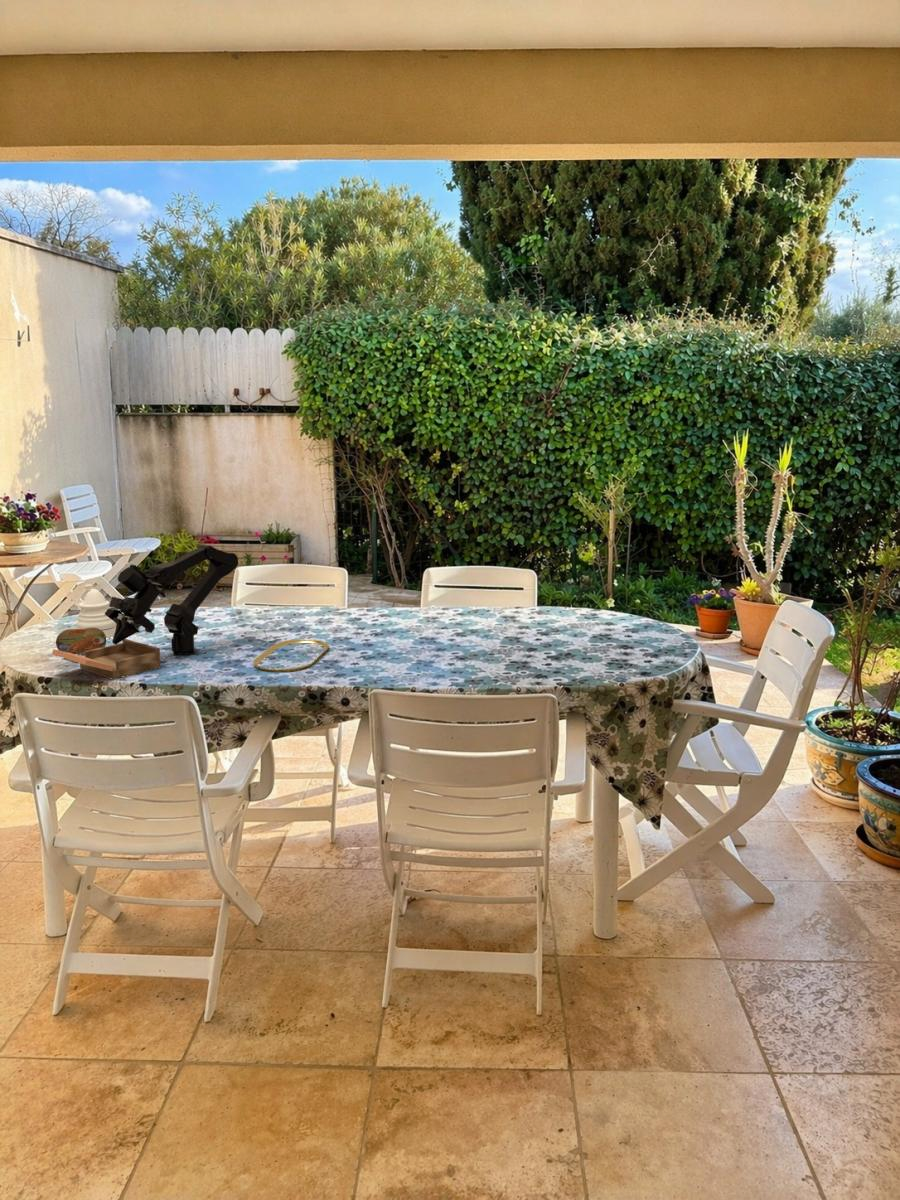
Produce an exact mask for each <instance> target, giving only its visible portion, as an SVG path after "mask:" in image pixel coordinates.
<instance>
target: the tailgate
mask: <svg viewBox="0 0 900 1200" xmlns="http://www.w3.org/2000/svg"><path fill="white" fill-rule="evenodd" d="M51 654H52V655H53V656H57V657H60V658H63V660H65V661H69V662H70V663H74V664H80V663H81V664H84V665H88V666H92V667H96V668H101V669H105V670H109V671H112V669H113V666H112V665H108V664H105V663H102V662H99V661H96V660H93V659H90V658H86V657H85V656H83V655H76V654H72V653H67V652H63V651H59V650H58V649H54V648H53V649H52V652H51Z"/></svg>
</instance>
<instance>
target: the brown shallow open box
mask: <svg viewBox="0 0 900 1200" xmlns="http://www.w3.org/2000/svg"><path fill="white" fill-rule="evenodd" d="M84 657H86V658H90V659H93V660H96V661H99V662H102V663H105V664H108V665H112V666H113V669H112V671H109V670H105V669H101V668H96V667H92V666H88V665H84V664H81V663H79V669H80V668H82V669H81V670H83V669H85V670H84V671H86V670H88V671H87V672H89V671H91V672H90V673H92V672H94V673H93V674H95V673H97V674H96V675H98V674H100V675H99V676H101V675H103V676H102V677H104V676H106V677H105V678H107V677H109V678H108V679H110V678H112V679H111V680H113V679H114V680H116V679H115V678H118V679H120V678H119V677H121V678H123V677H122V676H125V677H128V676H127V675H129V676H131V675H130V674H133V675H135V674H134V673H137V674H140V673H139V672H141V673H143V671H145V672H148V671H147V670H149V671H152V670H151V669H153V670H156V668H157V669H159V667H161V668H162V666H161V650H160V647H157V646H154V645H153V646H152V645H148V644H146V643H143V642H142V643H141V642H138V641H134V640H131V639H127V638H126V639H124V640H123V641H122V642H119V643H118V644H111V645H105V647H102V648H97V649H93V650H88V651H85V654H84Z"/></svg>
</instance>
